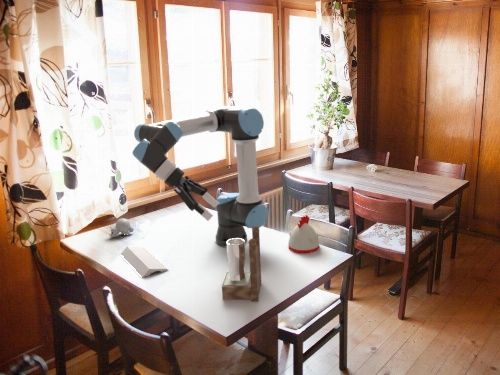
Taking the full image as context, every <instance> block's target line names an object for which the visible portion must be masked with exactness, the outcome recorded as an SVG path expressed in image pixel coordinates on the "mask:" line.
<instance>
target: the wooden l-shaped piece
mask: <svg viewBox="0 0 500 375" xmlns="http://www.w3.org/2000/svg"><path fill="white" fill-rule="evenodd" d="M251 232H252V238H250V239H249V240H248V253H249V254H248V256H249V272H246V271H244V272H245V276H246V279H245V280H244V281H241V282H233V281H231V280H230V271H226V274H225V277H224V279H223V283H222V286H221V292H222V295H221V296H222V300H236V301H237V300H243V301H245V300H246V301H251V302H256V303H257V302H259V299H260V298H259V297H260V296H259V294H260V288H261V286H262V269H261V268H262V266H261V245H260V244H261V243H260V241H261V240H260V228H259V227H257V226H254V227H253V228H251Z"/></svg>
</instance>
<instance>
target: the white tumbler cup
mask: <svg viewBox="0 0 500 375" xmlns="http://www.w3.org/2000/svg"><path fill="white" fill-rule="evenodd" d="M246 251H247V250H246V242H245V241H244V240H243V239H240V238H233V239H229V240H228V241H227V246H226V257H227V261H228V266H229V272H230V280H231V281H233V282H241V281H244V280H245V279H246V276H245V272H246V271H245V264H246V258H247V257H246V254H247V252H246Z"/></svg>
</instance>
